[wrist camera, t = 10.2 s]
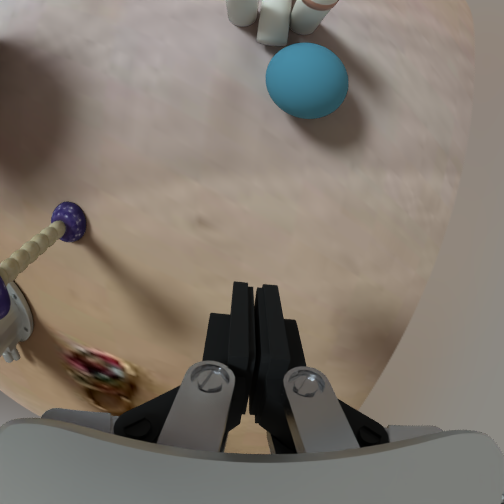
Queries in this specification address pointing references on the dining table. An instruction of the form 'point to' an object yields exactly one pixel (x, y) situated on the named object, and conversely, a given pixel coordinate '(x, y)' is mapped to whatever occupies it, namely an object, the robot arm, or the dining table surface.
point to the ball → (307, 80)
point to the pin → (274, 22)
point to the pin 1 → (242, 11)
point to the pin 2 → (309, 15)
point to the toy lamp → (41, 246)
